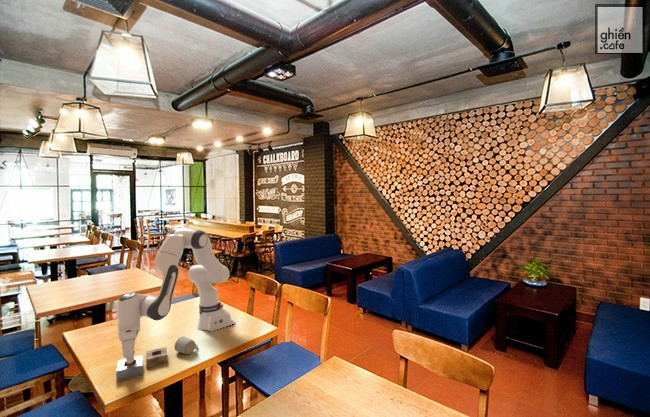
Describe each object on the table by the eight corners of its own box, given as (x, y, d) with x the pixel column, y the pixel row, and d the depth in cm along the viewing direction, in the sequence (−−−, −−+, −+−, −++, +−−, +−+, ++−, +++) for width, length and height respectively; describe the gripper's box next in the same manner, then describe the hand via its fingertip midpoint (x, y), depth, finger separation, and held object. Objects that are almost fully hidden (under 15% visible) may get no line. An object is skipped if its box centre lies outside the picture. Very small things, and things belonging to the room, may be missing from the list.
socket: (142, 364, 150) (142, 355, 149) (142, 375, 141) (142, 365, 141) (118, 370, 145) (118, 360, 144) (116, 382, 136) (116, 371, 136)
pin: (135, 370, 145) (134, 349, 145) (135, 374, 142) (134, 353, 142) (125, 372, 143) (125, 351, 143) (125, 376, 140) (124, 355, 140)
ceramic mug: (185, 357, 157) (185, 343, 156) (174, 354, 160) (174, 339, 160) (201, 348, 166) (201, 334, 166) (190, 345, 170) (190, 331, 169)
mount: (166, 354, 160) (166, 346, 159) (167, 362, 152) (167, 354, 152) (146, 358, 155) (146, 351, 155) (146, 367, 147) (146, 359, 147)
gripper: (122, 321, 149) (123, 349, 150) (119, 339, 131) (120, 370, 132) (137, 319, 152) (138, 345, 153) (136, 335, 135) (137, 366, 135)
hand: (130, 357), depth 143 cm, fingers open, 8 cm apart
